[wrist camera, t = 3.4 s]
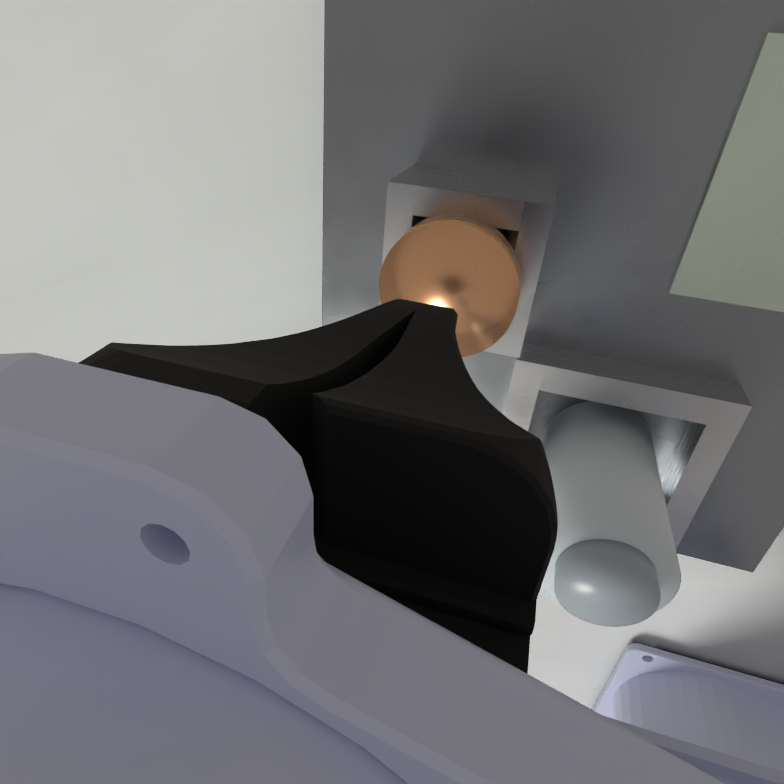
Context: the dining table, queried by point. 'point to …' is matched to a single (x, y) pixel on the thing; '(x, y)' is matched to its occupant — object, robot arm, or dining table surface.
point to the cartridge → (608, 517)
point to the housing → (590, 216)
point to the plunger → (457, 275)
